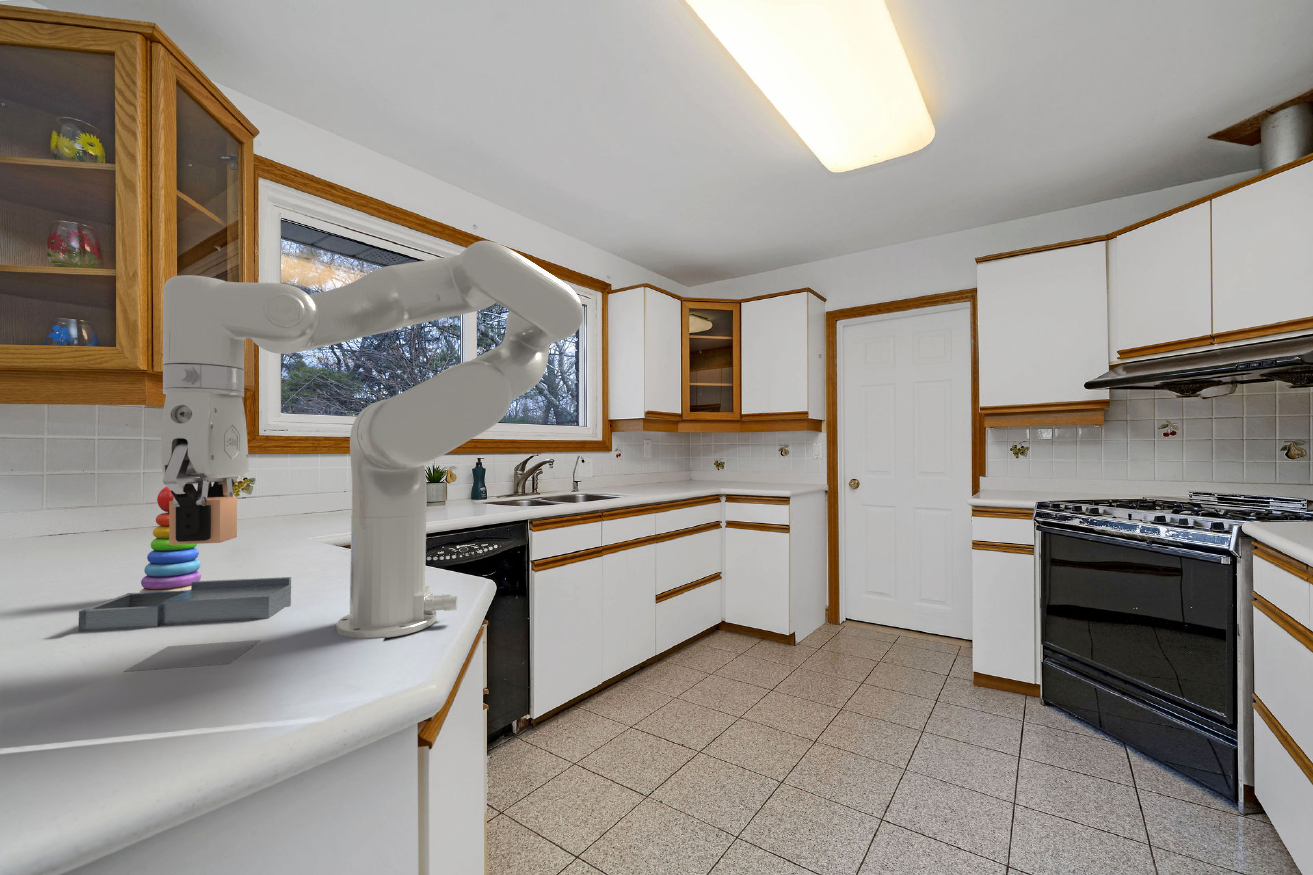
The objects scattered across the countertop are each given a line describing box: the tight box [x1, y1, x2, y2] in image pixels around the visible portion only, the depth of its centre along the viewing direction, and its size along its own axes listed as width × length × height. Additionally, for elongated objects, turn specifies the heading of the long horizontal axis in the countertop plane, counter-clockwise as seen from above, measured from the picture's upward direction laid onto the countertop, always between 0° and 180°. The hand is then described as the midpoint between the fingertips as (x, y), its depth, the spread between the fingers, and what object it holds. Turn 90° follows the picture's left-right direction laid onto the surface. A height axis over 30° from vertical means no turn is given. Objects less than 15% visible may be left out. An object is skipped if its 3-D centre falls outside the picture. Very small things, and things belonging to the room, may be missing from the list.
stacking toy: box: [138, 486, 202, 593], centre depth 92 cm, size 8×8×19 cm
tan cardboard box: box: [169, 496, 238, 545], centre depth 66 cm, size 5×4×5 cm
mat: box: [122, 639, 262, 673], centre depth 65 cm, size 10×8×1 cm
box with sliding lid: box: [77, 576, 292, 632], centre depth 81 cm, size 22×10×4 cm, turn 104°
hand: (204, 535), depth 66 cm, fingers closed on tan cardboard box, 4 cm apart
